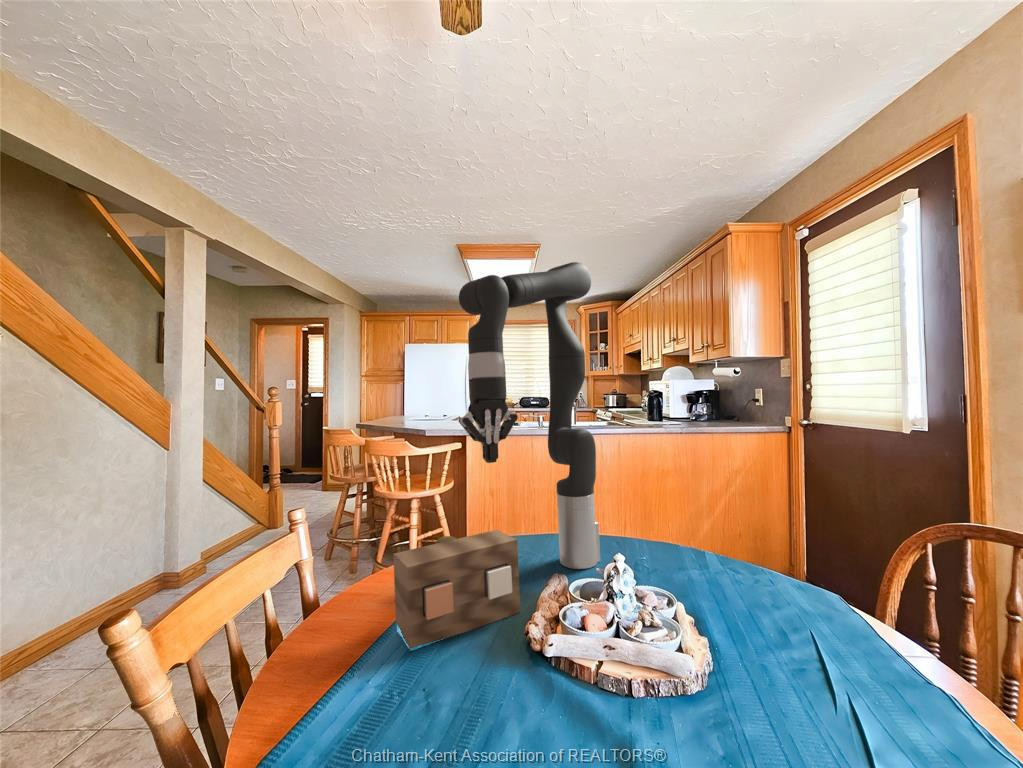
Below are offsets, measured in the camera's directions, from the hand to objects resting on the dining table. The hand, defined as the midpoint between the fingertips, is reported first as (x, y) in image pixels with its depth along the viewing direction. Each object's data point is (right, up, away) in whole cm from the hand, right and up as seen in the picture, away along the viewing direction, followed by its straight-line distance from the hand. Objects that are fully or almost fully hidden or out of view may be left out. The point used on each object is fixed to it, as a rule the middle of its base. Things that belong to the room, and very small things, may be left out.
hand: (490, 462), depth 85 cm
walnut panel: (-6, -29, -5) cm, 30 cm away
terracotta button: (-10, -24, -9) cm, 28 cm away
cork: (-10, -30, +10) cm, 33 cm away
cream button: (0, -24, -3) cm, 24 cm away
